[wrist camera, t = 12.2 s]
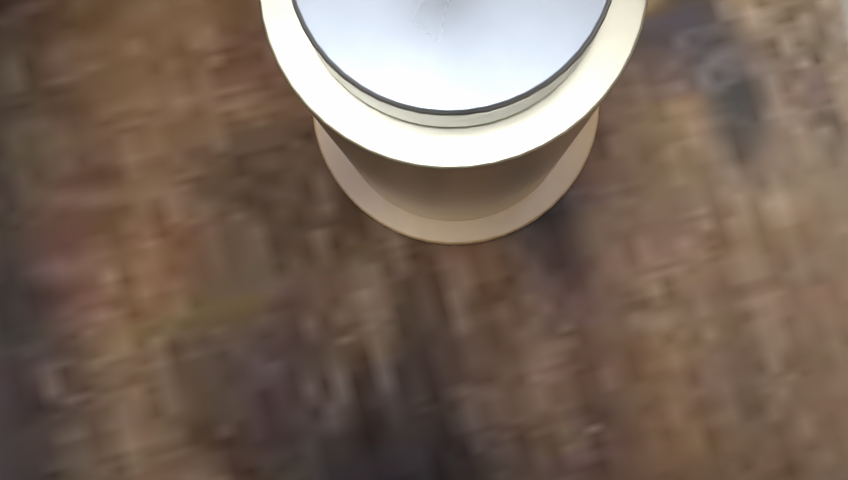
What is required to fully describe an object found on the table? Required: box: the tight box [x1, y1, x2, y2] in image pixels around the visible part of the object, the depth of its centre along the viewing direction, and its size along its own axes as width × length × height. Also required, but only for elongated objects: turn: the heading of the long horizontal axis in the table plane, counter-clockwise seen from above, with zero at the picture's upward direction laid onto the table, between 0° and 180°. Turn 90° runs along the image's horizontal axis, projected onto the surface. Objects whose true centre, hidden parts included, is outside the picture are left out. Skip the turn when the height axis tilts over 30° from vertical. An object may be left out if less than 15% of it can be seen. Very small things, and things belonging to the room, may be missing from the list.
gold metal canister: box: [259, 0, 648, 221], centre depth 17 cm, size 7×7×10 cm
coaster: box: [312, 106, 600, 245], centre depth 22 cm, size 8×8×1 cm
